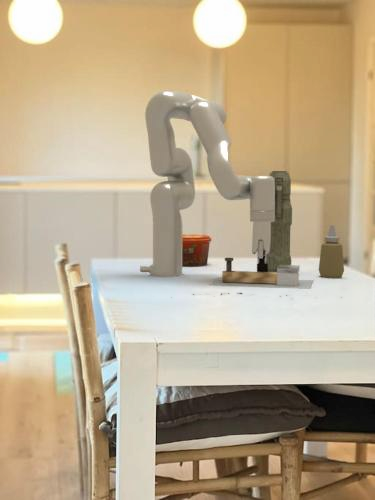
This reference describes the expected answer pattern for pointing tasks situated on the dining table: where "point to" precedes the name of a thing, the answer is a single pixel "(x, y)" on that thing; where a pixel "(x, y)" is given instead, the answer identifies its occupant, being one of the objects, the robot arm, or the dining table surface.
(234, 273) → the oak link
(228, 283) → the base plate
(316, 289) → the dining table surface
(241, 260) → the dining table surface
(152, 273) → the robot arm
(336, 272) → the squeeze bottle
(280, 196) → the olive green pillar
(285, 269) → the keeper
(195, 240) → the food container
